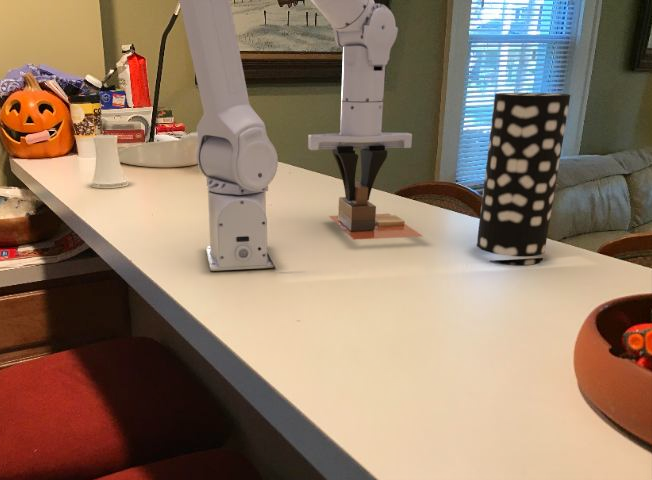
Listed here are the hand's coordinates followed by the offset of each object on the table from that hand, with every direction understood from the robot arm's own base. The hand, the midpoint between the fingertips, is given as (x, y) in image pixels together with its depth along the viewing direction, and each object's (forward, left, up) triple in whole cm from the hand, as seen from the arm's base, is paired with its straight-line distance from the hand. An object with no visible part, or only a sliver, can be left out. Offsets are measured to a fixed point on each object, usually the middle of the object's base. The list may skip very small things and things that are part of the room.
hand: (357, 199), depth 88 cm
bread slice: (+1, -5, -4) cm, 6 cm away
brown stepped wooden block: (0, 0, -4) cm, 4 cm away
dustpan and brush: (+71, +24, -5) cm, 75 cm away
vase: (+47, +39, -5) cm, 61 cm away
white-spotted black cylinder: (-14, -17, -5) cm, 22 cm away
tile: (0, -3, -5) cm, 6 cm away
